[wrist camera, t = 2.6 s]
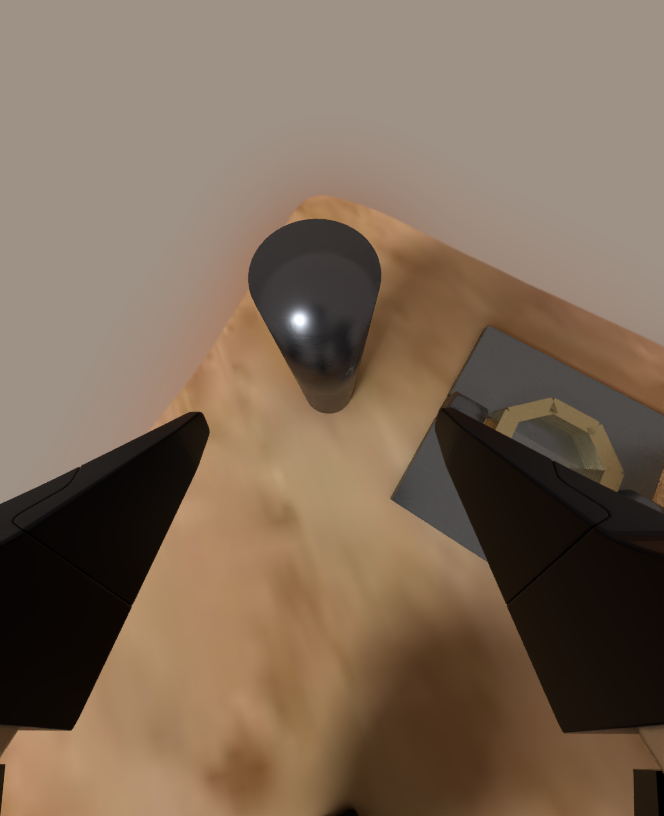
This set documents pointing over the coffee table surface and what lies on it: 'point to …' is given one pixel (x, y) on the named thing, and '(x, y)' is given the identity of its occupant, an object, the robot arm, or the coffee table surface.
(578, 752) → the coffee table surface
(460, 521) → the grey square base plate
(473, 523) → the robot arm
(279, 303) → the pin
